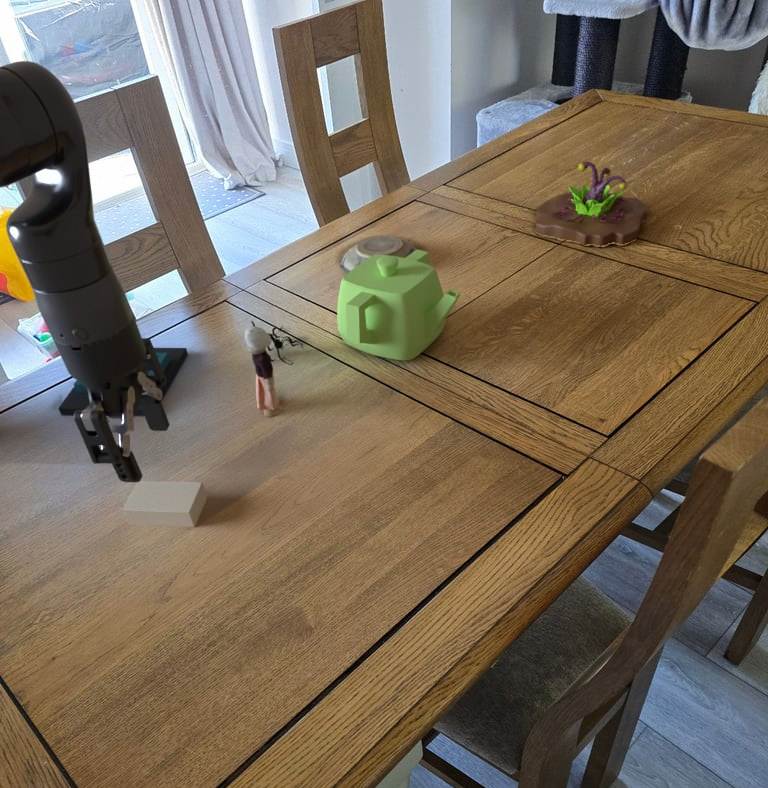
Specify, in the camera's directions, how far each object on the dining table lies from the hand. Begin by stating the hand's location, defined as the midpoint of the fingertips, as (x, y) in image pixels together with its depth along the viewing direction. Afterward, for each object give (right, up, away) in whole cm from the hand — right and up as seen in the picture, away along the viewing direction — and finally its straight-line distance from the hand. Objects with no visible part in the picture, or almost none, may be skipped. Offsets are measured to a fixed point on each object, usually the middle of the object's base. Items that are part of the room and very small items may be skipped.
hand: (147, 453), depth 76 cm
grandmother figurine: (+10, +8, +22) cm, 25 cm away
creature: (+10, +18, +32) cm, 38 cm away
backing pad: (-13, +13, +29) cm, 34 cm away
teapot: (+29, +19, +31) cm, 47 cm away
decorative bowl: (+25, +39, +51) cm, 69 cm away
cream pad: (+1, -7, +7) cm, 10 cm away
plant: (+65, +48, +56) cm, 98 cm away
